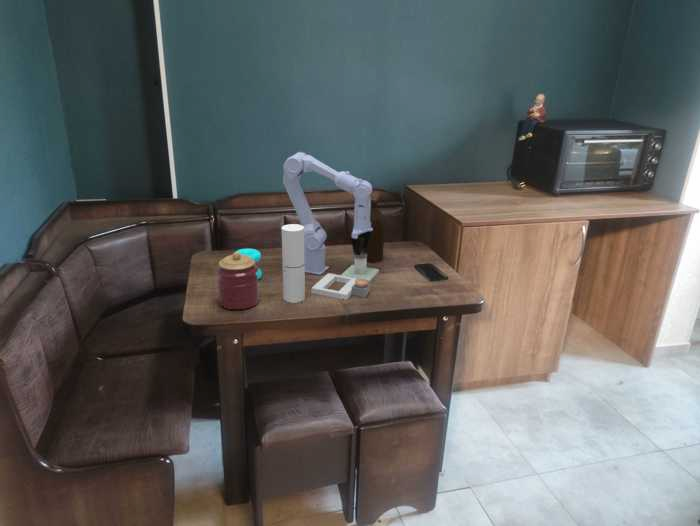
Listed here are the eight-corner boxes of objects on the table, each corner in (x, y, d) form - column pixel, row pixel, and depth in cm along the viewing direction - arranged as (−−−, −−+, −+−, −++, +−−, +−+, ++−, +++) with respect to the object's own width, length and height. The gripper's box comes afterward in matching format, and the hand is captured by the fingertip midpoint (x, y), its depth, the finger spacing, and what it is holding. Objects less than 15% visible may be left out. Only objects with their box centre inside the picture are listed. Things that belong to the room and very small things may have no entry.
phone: (431, 262, 208) (449, 277, 195) (431, 265, 209) (448, 280, 195) (412, 264, 206) (429, 279, 193) (412, 267, 206) (429, 282, 193)
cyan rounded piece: (236, 259, 183) (229, 249, 191) (238, 285, 186) (230, 275, 195) (264, 255, 187) (256, 245, 195) (265, 280, 191) (257, 270, 199)
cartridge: (352, 273, 196) (352, 255, 193) (356, 268, 200) (356, 251, 197) (364, 275, 194) (364, 257, 192) (368, 270, 199) (368, 252, 196)
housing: (311, 293, 182) (311, 285, 181) (328, 278, 194) (328, 270, 193) (360, 303, 176) (360, 294, 175) (374, 286, 188) (374, 279, 187)
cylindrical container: (296, 305, 173) (294, 232, 164) (279, 299, 177) (276, 228, 167) (309, 297, 179) (308, 226, 170) (292, 291, 182) (290, 222, 173)
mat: (340, 277, 195) (340, 275, 194) (352, 267, 204) (352, 264, 204) (369, 282, 191) (369, 280, 191) (379, 271, 200) (379, 269, 200)
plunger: (352, 294, 181) (352, 282, 180) (357, 289, 185) (357, 277, 184) (364, 296, 180) (365, 284, 178) (369, 291, 184) (369, 279, 182)
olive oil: (389, 258, 214) (392, 198, 204) (373, 265, 206) (376, 203, 196) (368, 251, 220) (370, 193, 210) (352, 259, 212) (353, 198, 203)
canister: (261, 308, 170) (259, 257, 164) (220, 313, 167) (216, 261, 160) (256, 291, 182) (254, 243, 175) (218, 295, 178) (214, 246, 172)
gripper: (365, 222, 181) (364, 259, 186) (379, 211, 194) (377, 246, 199) (346, 219, 184) (345, 256, 189) (361, 209, 196) (360, 243, 201)
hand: (361, 251), depth 194 cm, fingers open, 7 cm apart
